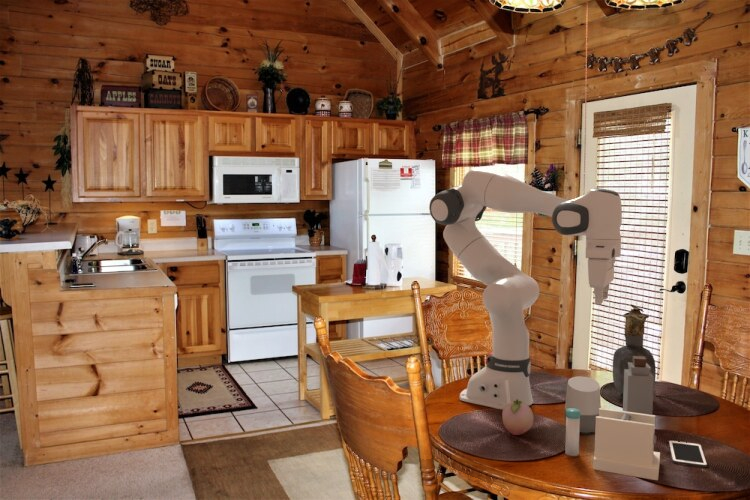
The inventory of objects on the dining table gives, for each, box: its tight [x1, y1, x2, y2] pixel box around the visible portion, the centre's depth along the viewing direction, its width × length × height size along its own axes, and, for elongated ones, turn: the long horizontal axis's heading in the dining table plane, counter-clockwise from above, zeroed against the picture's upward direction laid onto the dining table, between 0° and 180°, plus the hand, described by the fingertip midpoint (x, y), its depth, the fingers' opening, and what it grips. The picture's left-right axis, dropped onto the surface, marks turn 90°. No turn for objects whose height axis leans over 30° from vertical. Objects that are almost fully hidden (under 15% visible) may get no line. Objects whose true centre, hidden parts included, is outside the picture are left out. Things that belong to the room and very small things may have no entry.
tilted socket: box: [592, 407, 661, 481], centre depth 156 cm, size 14×11×12 cm
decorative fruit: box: [501, 399, 535, 436], centre depth 176 cm, size 9×8×10 cm
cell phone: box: [668, 439, 708, 468], centre depth 164 cm, size 8×15×1 cm, turn 160°
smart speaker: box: [564, 375, 602, 435], centre depth 180 cm, size 10×9×14 cm
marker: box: [564, 408, 580, 457], centre depth 164 cm, size 3×3×11 cm
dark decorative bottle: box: [612, 304, 657, 401], centre depth 207 cm, size 11×19×30 cm, turn 172°
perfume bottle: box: [622, 356, 655, 415], centre depth 189 cm, size 7×7×18 cm
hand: (601, 301), depth 176 cm, fingers open, 8 cm apart
